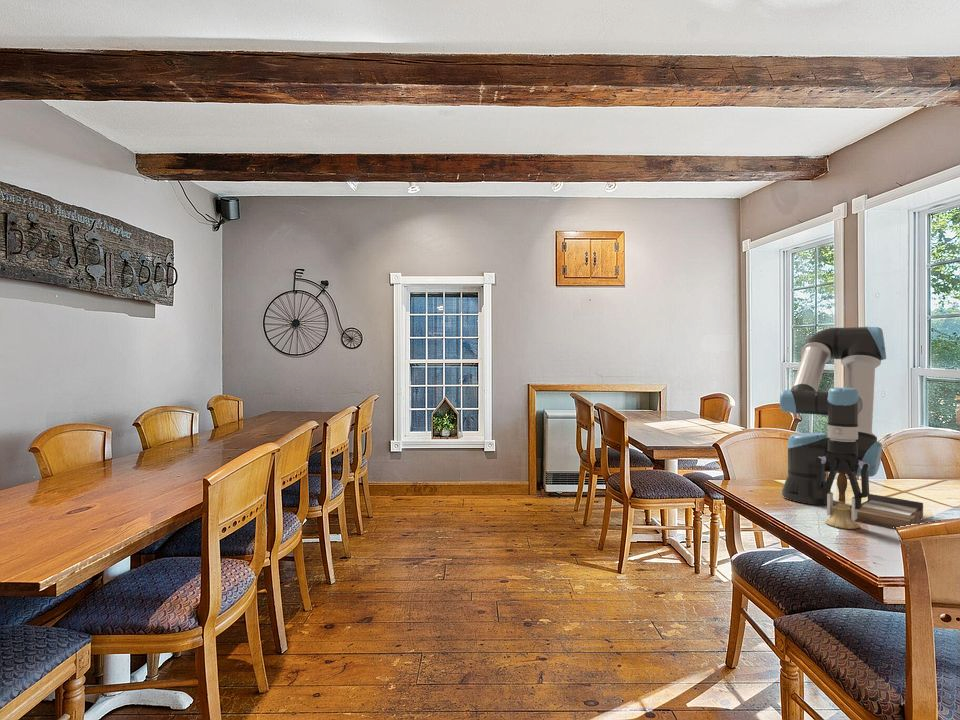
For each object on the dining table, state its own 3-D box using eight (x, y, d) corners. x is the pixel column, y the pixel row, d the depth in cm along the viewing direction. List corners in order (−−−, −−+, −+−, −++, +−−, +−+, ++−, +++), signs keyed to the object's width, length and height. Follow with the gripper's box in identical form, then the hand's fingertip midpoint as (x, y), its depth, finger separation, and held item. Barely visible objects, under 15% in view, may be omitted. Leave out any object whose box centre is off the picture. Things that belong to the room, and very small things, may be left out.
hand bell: (819, 520, 163) (819, 468, 163) (844, 519, 164) (845, 468, 164) (839, 529, 155) (839, 475, 155) (866, 528, 156) (866, 474, 155)
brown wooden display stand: (909, 531, 154) (909, 514, 154) (851, 520, 164) (852, 503, 164) (922, 518, 165) (923, 502, 165) (868, 508, 176) (868, 493, 176)
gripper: (803, 437, 164) (802, 512, 164) (876, 445, 150) (876, 527, 150) (812, 434, 169) (811, 507, 169) (884, 442, 154) (883, 521, 155)
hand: (841, 516), depth 159 cm, fingers closed on hand bell, 5 cm apart
